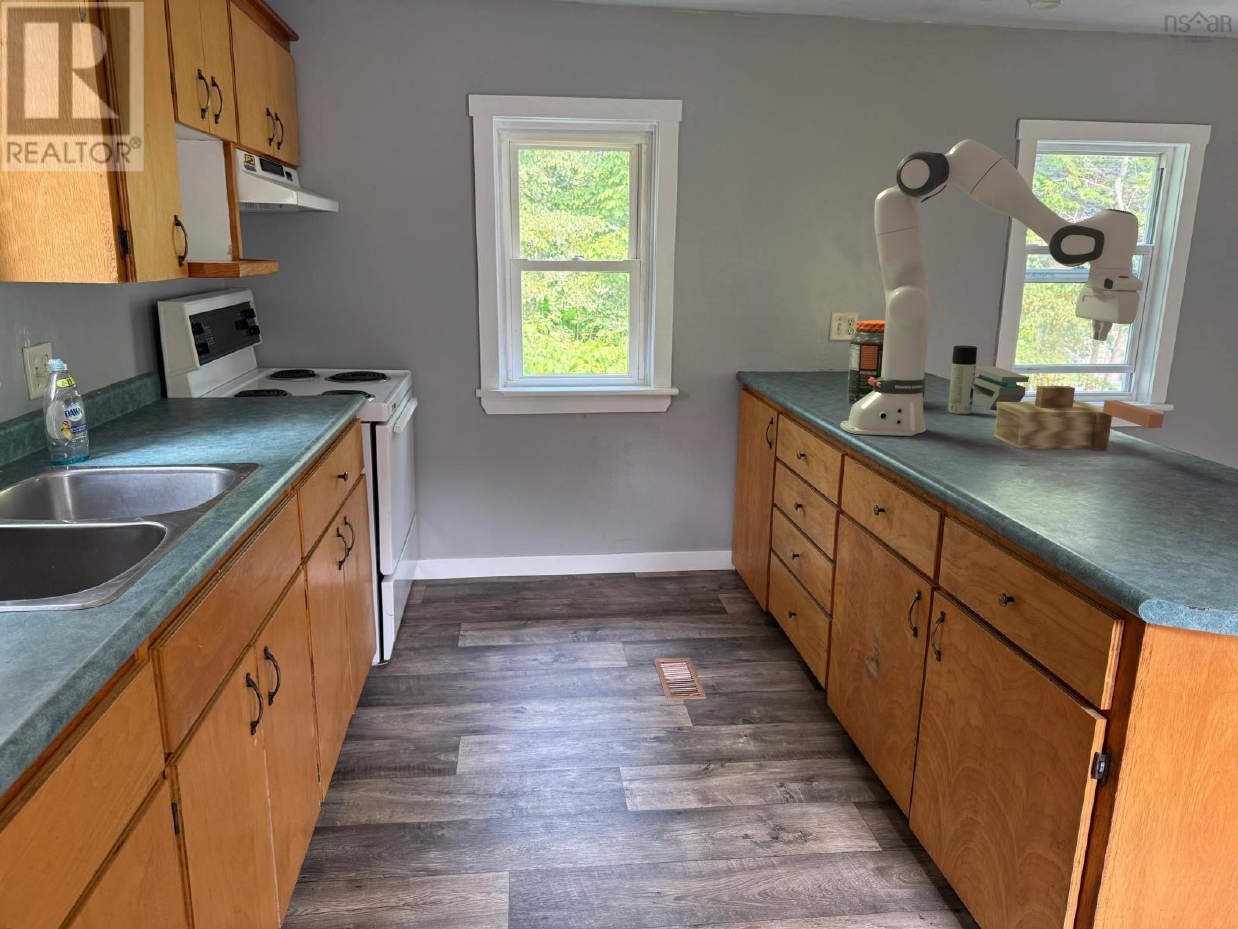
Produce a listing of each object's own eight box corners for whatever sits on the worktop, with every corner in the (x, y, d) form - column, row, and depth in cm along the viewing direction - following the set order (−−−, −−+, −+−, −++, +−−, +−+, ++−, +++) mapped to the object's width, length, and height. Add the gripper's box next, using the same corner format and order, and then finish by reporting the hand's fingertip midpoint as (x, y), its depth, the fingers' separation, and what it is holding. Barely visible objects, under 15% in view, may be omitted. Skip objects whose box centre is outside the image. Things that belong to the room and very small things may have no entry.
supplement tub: (891, 398, 281) (897, 319, 274) (902, 406, 266) (908, 323, 259) (842, 397, 282) (847, 319, 276) (850, 406, 267) (855, 323, 261)
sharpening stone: (1024, 413, 255) (1028, 377, 252) (998, 413, 255) (1002, 377, 252) (990, 399, 279) (993, 366, 276) (966, 399, 279) (969, 366, 276)
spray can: (973, 415, 252) (980, 347, 247) (949, 414, 253) (955, 347, 248) (969, 411, 258) (975, 345, 253) (945, 410, 259) (951, 344, 254)
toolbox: (1022, 450, 207) (1027, 413, 204) (990, 434, 225) (994, 400, 222) (1113, 450, 207) (1118, 412, 204) (1073, 434, 225) (1078, 399, 222)
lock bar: (1148, 427, 185) (1150, 414, 185) (1102, 412, 203) (1104, 400, 202) (1161, 427, 185) (1163, 414, 185) (1115, 412, 203) (1117, 400, 202)
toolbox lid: (1020, 422, 207) (1024, 391, 205) (995, 412, 221) (998, 382, 219) (1112, 422, 207) (1117, 391, 205) (1081, 411, 221) (1085, 382, 219)
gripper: (1073, 279, 209) (1064, 335, 213) (1119, 282, 190) (1109, 344, 193) (1098, 279, 209) (1089, 335, 213) (1147, 283, 189) (1137, 345, 193)
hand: (1099, 340), depth 203 cm, fingers closed
